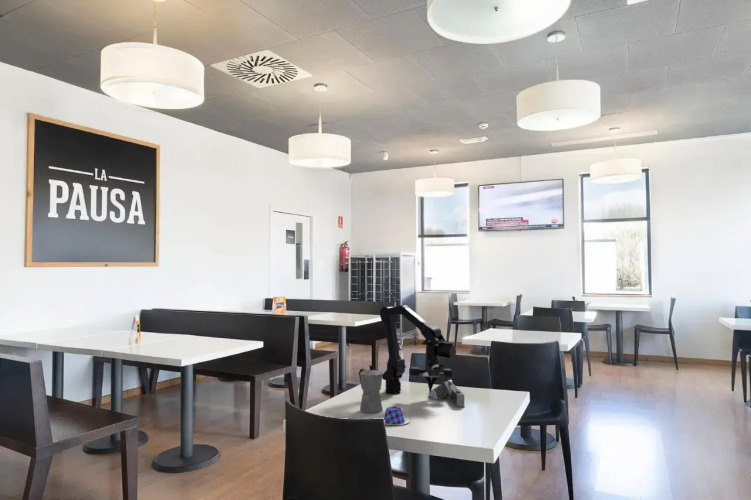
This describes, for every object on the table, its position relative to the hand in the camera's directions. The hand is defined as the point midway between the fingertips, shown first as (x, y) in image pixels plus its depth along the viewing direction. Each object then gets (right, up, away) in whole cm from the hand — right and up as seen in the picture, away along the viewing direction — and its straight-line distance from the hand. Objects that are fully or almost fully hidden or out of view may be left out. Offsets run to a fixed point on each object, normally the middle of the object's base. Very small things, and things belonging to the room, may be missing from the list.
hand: (430, 391), depth 219 cm
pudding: (-17, -2, -33) cm, 38 cm away
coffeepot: (-26, -3, -18) cm, 32 cm away
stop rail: (+10, -3, -1) cm, 11 cm away
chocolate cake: (+3, -4, +4) cm, 6 cm away
